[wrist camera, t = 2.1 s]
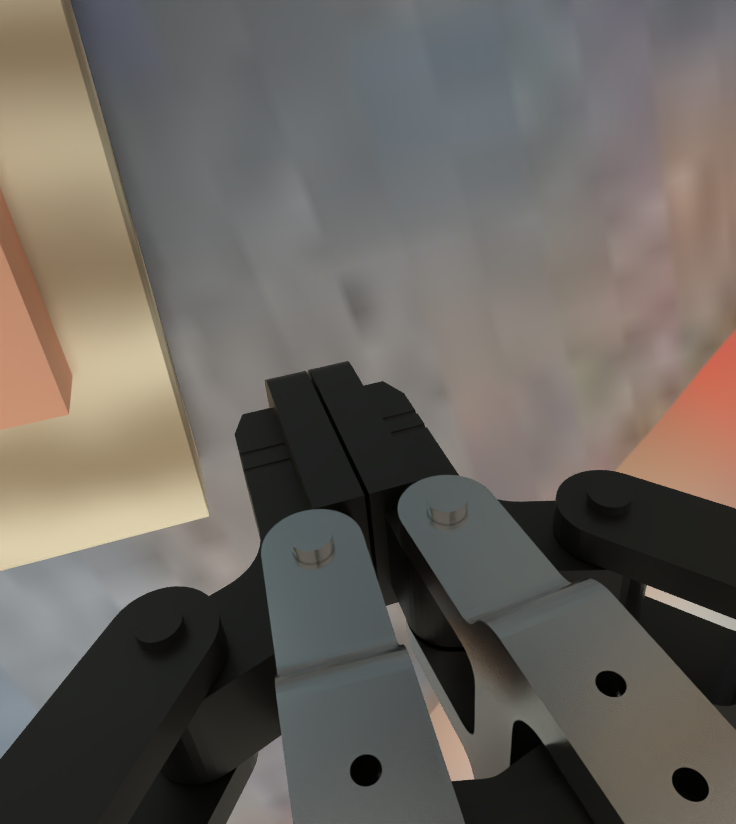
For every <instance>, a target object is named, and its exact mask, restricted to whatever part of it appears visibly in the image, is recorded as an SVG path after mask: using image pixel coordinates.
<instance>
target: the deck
mask: <svg viewBox="0 0 736 824" xmlns="http://www.w3.org/2000/svg"><path fill="white" fill-rule="evenodd" d="M0 188H1V191H2V194H3V196H4V199H5V201H6V204H7V207H8V209H9V212H10V214H11V217H12V220H13V222H14V225H15V227H16V230H17V233H18V235H19V238H20V241H21V243H22V246H23V248H24V251H25V254H26V256H27V259H28V261H29V264H30V267H31V269H32V272H33V274H34V277H35V280H36V282H37V285H38V287H39V290H40V293H41V295H42V298H43V300H44V303H45V306H46V308H47V311H48V314H49V316H50V319H51V321H52V324H53V327H54V329H55V332H56V334H57V337H58V340H59V342H60V345H61V347H62V350H63V353H64V355H65V358H66V360H67V363H68V366H69V368H70V371H71V373H72V376H73V377H72V388H71V399H70V409H69V415H65V416H61V417H56V418H52V419H47V420H43V421H38V422H34V423H29V424H25V425H20V426H16V427H11V428H7V429H3V430H0V571H2V570H6V569H10V568H13V567H17V566H21V565H25V564H29V563H33V562H36V561H40V560H44V559H48V558H52V557H55V556H59V555H63V554H67V553H71V552H75V551H78V550H82V549H86V548H90V547H94V546H97V545H101V544H105V543H109V542H113V541H117V540H120V539H124V538H128V537H132V536H136V535H140V534H143V533H147V532H151V531H155V530H159V529H162V528H166V527H170V526H174V525H178V524H182V523H185V522H189V521H193V520H197V519H201V518H204V517H208V516H209V512H208V506H207V500H206V494H205V488H204V483H203V477H202V471H201V465H200V459H199V455H198V452H197V448H196V445H195V441H194V438H193V434H192V431H191V427H190V423H189V420H188V416H187V413H186V409H185V406H184V402H183V399H182V395H181V391H180V388H179V384H178V381H177V377H176V374H175V370H174V367H173V363H172V359H171V356H170V352H169V349H168V345H167V342H166V338H165V335H164V331H163V327H162V324H161V320H160V317H159V313H158V310H157V306H156V303H155V299H154V296H153V292H152V288H151V285H150V281H149V278H148V274H147V271H146V267H145V264H144V260H143V256H142V253H141V249H140V246H139V242H138V239H137V235H136V232H135V228H134V224H133V221H132V217H131V214H130V210H129V207H128V203H127V200H126V196H125V192H124V189H123V185H122V182H121V178H120V175H119V171H118V168H117V164H116V160H115V157H114V153H113V150H112V146H111V143H110V139H109V136H108V132H107V128H106V125H105V121H104V118H103V114H102V111H101V107H100V104H99V100H98V96H97V93H96V89H95V86H94V82H93V79H92V75H91V72H90V68H89V65H88V61H87V57H86V54H85V50H84V47H83V43H82V40H81V36H80V33H79V29H78V25H77V22H76V18H75V15H74V11H73V8H72V4H71V1H70V0H0Z"/></svg>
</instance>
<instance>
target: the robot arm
mask: <svg viewBox="0 0 736 824" xmlns="http://www.w3.org/2000/svg"><path fill="white" fill-rule="evenodd" d="M265 386H266V392H267V397H268V402H269V407H270V408H268V409H264V410H260V411H255V412H251V413H247V414H243V415H242V417H241V420H240V422H239V425H238V427H237V430H236V432H235V438H236V442H237V446H238V450H239V454H240V459H241V463H242V467H243V471H244V475H245V480H246V484H247V488H248V492H249V496H250V501H251V505H252V509H253V512H254V516H255V520H256V524H257V528H258V532H259V536H260V540H261V541H260V548H259V551H258V554H257V556H256V558H255V560H254V561H253V563H252V564H251V566H250V567H249V568H248V569H247V570H246V571H245V572H244V574H242V575H241V576H240V577H239V578H238V579H236V580H235V581H234V582H232V583H230V584H229V585H227V586H226V587H224V588H222V589H221V590H219V591H217V592H215V593H214V594H212V595H210V596H208V595H206V594H205V593H203V592H201V591H199V590H197V589H194V588H189V587H177V586H175V587H166V588H162V589H158V590H155V591H152V592H149V593H147V594H145V595H143V596H141V597H139V598H137V599H136V600H134V601H133V602H131V603H130V604H128V605H127V606H126V607H125V608H124V609H122V610H121V611H120V612H119V614H118V615H117V616H116V617H115V618H114V619H113V620H112V622H111V623H110V624H109V625H108V627H107V628H106V629H105V630H104V631H103V633H102V634H101V635H100V636H99V638H98V639H97V640H96V641H95V643H94V644H93V645H92V646H91V648H90V649H89V650H88V651H87V653H86V654H85V655H84V656H83V657H82V659H81V660H80V661H79V662H78V664H77V665H76V666H75V667H74V669H73V670H72V671H71V672H70V674H69V675H68V676H67V677H66V679H65V680H64V681H63V682H62V683H61V685H60V686H59V687H58V688H57V690H56V691H55V692H54V693H53V695H52V696H51V697H50V698H49V700H48V701H47V702H46V703H45V705H44V706H43V707H42V708H41V709H40V711H39V712H38V713H37V714H36V716H35V717H34V718H33V719H32V721H31V722H30V723H29V724H28V726H27V727H26V728H25V729H24V730H23V732H22V733H21V734H20V735H19V737H18V738H17V739H16V740H15V742H14V743H13V744H12V745H11V747H10V748H9V749H8V750H7V752H6V753H5V754H4V755H3V756H2V758H1V759H0V824H226V823H227V821H228V819H229V817H230V815H231V813H232V811H233V809H234V807H235V805H236V803H237V801H238V799H239V797H240V795H241V793H242V791H243V789H244V787H245V785H246V783H247V781H248V779H249V777H250V775H251V773H252V771H253V769H254V766H255V764H256V761H257V757H258V751H260V750H261V749H262V748H264V747H265V746H267V745H268V744H269V743H271V742H272V741H273V740H275V739H276V738H278V737H279V736H280V735H281V736H282V743H283V751H284V758H285V766H286V774H287V781H288V789H289V796H290V804H291V811H292V819H293V824H736V631H733V630H731V629H727V628H725V627H722V626H720V625H718V624H715V623H713V622H710V621H707V620H705V619H702V618H700V617H697V616H695V615H692V614H690V613H687V612H684V611H682V610H679V609H677V608H675V607H672V606H670V605H667V604H664V603H662V602H659V601H657V600H654V599H652V598H649V597H647V596H644V595H645V590H646V586H647V585H648V586H651V587H653V588H656V589H659V590H661V591H664V592H667V593H669V594H672V595H674V596H677V597H680V598H682V599H685V600H687V601H690V602H692V603H695V604H698V605H700V606H703V607H705V608H708V609H710V610H713V611H716V612H718V613H721V614H723V615H726V616H729V617H731V618H734V619H736V509H735V508H732V507H729V506H726V505H723V504H719V503H716V502H713V501H709V500H706V499H703V498H700V497H697V496H693V495H691V494H687V493H684V492H680V491H678V490H675V489H671V488H668V487H665V486H661V485H658V484H655V483H652V482H649V481H646V480H643V479H639V478H636V477H633V476H630V475H627V474H623V473H619V472H615V471H608V470H591V471H585V472H581V473H578V474H575V475H573V476H571V477H569V478H568V479H566V480H565V481H564V482H563V483H562V484H561V485H560V487H559V489H558V491H557V495H556V501H529V502H511V501H503V500H498V499H496V498H495V496H494V495H493V494H492V493H491V492H490V491H489V490H488V489H487V488H486V487H485V486H483V485H482V484H480V483H479V482H477V481H475V480H472V479H469V478H466V477H462V476H459V475H458V473H457V472H456V470H455V469H454V467H453V466H452V464H451V463H450V461H449V460H448V458H447V457H446V455H445V454H444V452H443V451H442V449H441V448H440V446H439V445H438V443H437V442H436V440H435V439H434V437H433V436H432V434H431V433H430V431H429V430H428V428H427V427H426V428H425V425H424V423H423V421H422V420H421V418H420V417H419V415H418V414H416V412H415V409H414V408H413V406H412V405H411V403H410V402H409V400H408V399H407V397H406V396H405V394H404V393H402V392H401V391H399V390H397V389H396V388H394V387H392V386H390V385H389V384H387V383H385V382H383V381H382V382H378V383H373V384H369V385H365V386H363V384H362V383H361V381H360V379H359V377H358V376H357V374H356V372H355V371H354V369H353V367H352V366H351V364H350V363H349V362H348V361H346V362H342V363H337V364H333V365H329V366H324V367H320V368H315V369H311V370H308V374H307V372H306V371H303V372H299V373H294V374H290V375H285V376H281V377H277V378H272V379H268V380H265ZM397 602H399V604H400V606H401V608H402V610H403V613H404V615H405V617H406V627H407V638H408V643H409V645H410V647H411V650H412V651H413V653H414V655H415V657H416V659H417V661H418V663H419V664H420V666H421V668H422V670H423V672H424V674H425V676H426V678H427V679H428V681H429V683H430V685H431V687H432V689H433V691H434V692H435V694H436V696H437V698H438V700H439V702H440V704H441V705H442V707H443V709H444V711H445V713H446V715H447V717H448V719H449V720H450V722H451V724H452V726H453V728H454V730H455V731H456V733H457V735H458V737H459V739H460V741H461V743H462V745H463V746H464V749H465V751H466V753H467V756H468V758H469V761H470V764H471V767H472V771H473V775H474V780H462V781H451V779H450V776H449V773H448V770H447V767H446V764H445V761H444V758H443V755H442V752H441V749H440V746H439V743H438V740H437V737H436V734H435V731H434V728H433V725H432V722H431V719H430V716H429V713H428V709H427V706H426V703H425V700H424V697H423V694H422V691H421V688H420V685H419V682H418V679H417V676H416V673H415V670H414V667H413V664H412V661H411V659H410V656H409V653H408V651H407V649H406V647H405V646H404V645H399V644H398V642H397V639H396V636H395V633H394V630H393V627H392V624H391V621H390V618H389V614H388V611H387V608H386V606H387V605H390V604H393V603H397Z"/></svg>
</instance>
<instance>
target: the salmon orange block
mask: <svg viewBox="0 0 736 824" xmlns="http://www.w3.org/2000/svg"><path fill="white" fill-rule="evenodd" d="M72 377H73V376H72V373H71V371H70V368H69V366H68V363H67V360H66V358H65V355H64V353H63V350H62V347H61V345H60V342H59V340H58V337H57V334H56V332H55V329H54V327H53V324H52V321H51V319H50V316H49V314H48V311H47V308H46V306H45V303H44V300H43V298H42V295H41V293H40V290H39V287H38V285H37V282H36V280H35V277H34V274H33V272H32V269H31V267H30V264H29V261H28V259H27V256H26V254H25V251H24V248H23V246H22V243H21V241H20V238H19V235H18V233H17V230H16V227H15V225H14V222H13V220H12V217H11V214H10V212H9V209H8V207H7V204H6V201H5V199H4V196H3V194H2V191H1V188H0V430H3V429H7V428H11V427H16V426H20V425H25V424H29V423H34V422H38V421H43V420H47V419H52V418H56V417H61V416H65V415H69V409H70V399H71V388H72Z"/></svg>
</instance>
